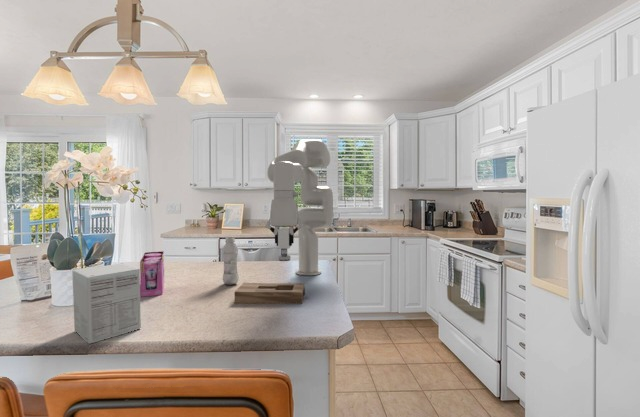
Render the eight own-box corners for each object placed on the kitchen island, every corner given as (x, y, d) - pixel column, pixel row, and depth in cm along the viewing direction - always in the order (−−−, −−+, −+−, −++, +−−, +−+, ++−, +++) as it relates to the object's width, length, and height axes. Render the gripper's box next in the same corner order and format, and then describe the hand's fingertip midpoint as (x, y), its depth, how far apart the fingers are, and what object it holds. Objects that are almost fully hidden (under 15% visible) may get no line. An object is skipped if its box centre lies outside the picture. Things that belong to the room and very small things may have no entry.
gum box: (162, 295, 128) (162, 260, 128) (139, 298, 125) (138, 262, 125) (164, 281, 150) (164, 251, 150) (144, 283, 147) (144, 252, 147)
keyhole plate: (243, 293, 131) (243, 283, 131) (304, 293, 131) (304, 283, 130) (234, 303, 120) (234, 291, 119) (302, 303, 119) (302, 292, 119)
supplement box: (142, 329, 96) (141, 268, 96) (88, 345, 86) (86, 277, 86) (124, 318, 105) (122, 262, 104) (73, 331, 95) (71, 270, 94)
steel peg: (279, 258, 126) (279, 228, 126) (291, 258, 126) (290, 228, 126) (277, 261, 122) (277, 229, 122) (289, 261, 122) (289, 229, 122)
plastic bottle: (236, 286, 142) (235, 238, 141) (220, 286, 142) (219, 238, 141) (240, 282, 148) (239, 236, 147) (225, 282, 148) (224, 236, 147)
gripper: (307, 195, 127) (307, 244, 128) (263, 195, 127) (263, 243, 128) (306, 195, 119) (306, 247, 120) (259, 195, 120) (259, 246, 121)
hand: (284, 244), depth 124 cm, fingers closed on steel peg, 4 cm apart
